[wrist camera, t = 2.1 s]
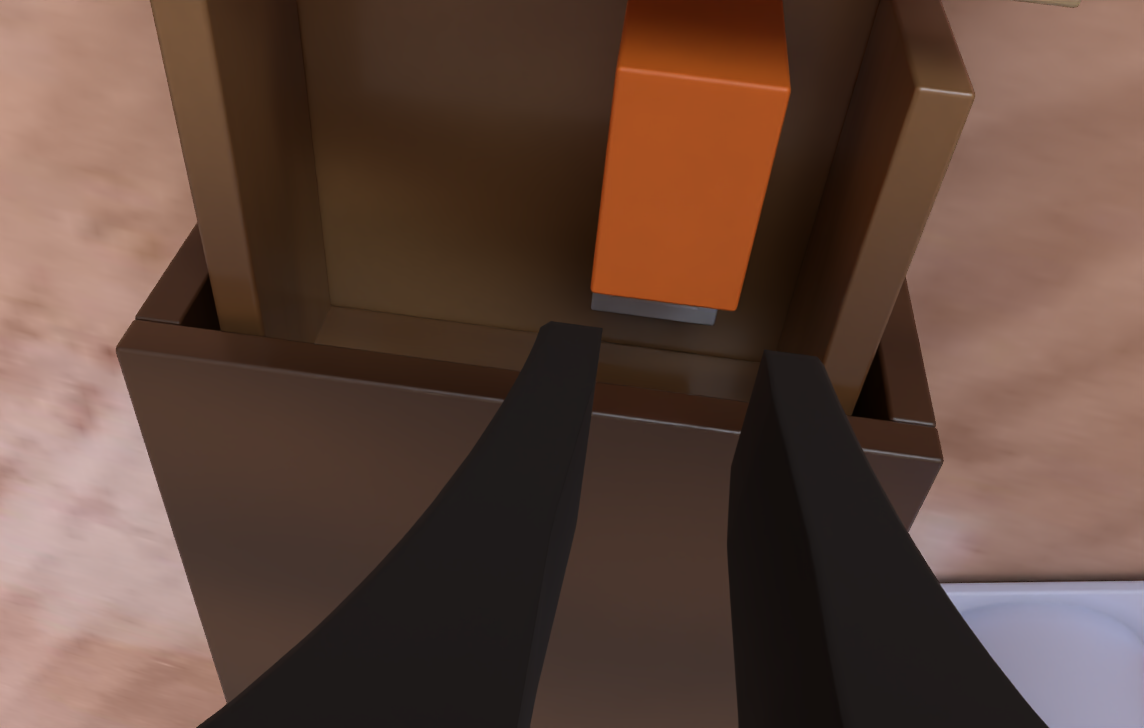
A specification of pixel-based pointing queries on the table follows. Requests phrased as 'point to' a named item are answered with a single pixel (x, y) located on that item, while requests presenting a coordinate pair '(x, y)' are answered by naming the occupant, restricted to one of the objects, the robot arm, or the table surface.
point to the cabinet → (424, 466)
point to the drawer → (539, 179)
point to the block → (688, 155)
